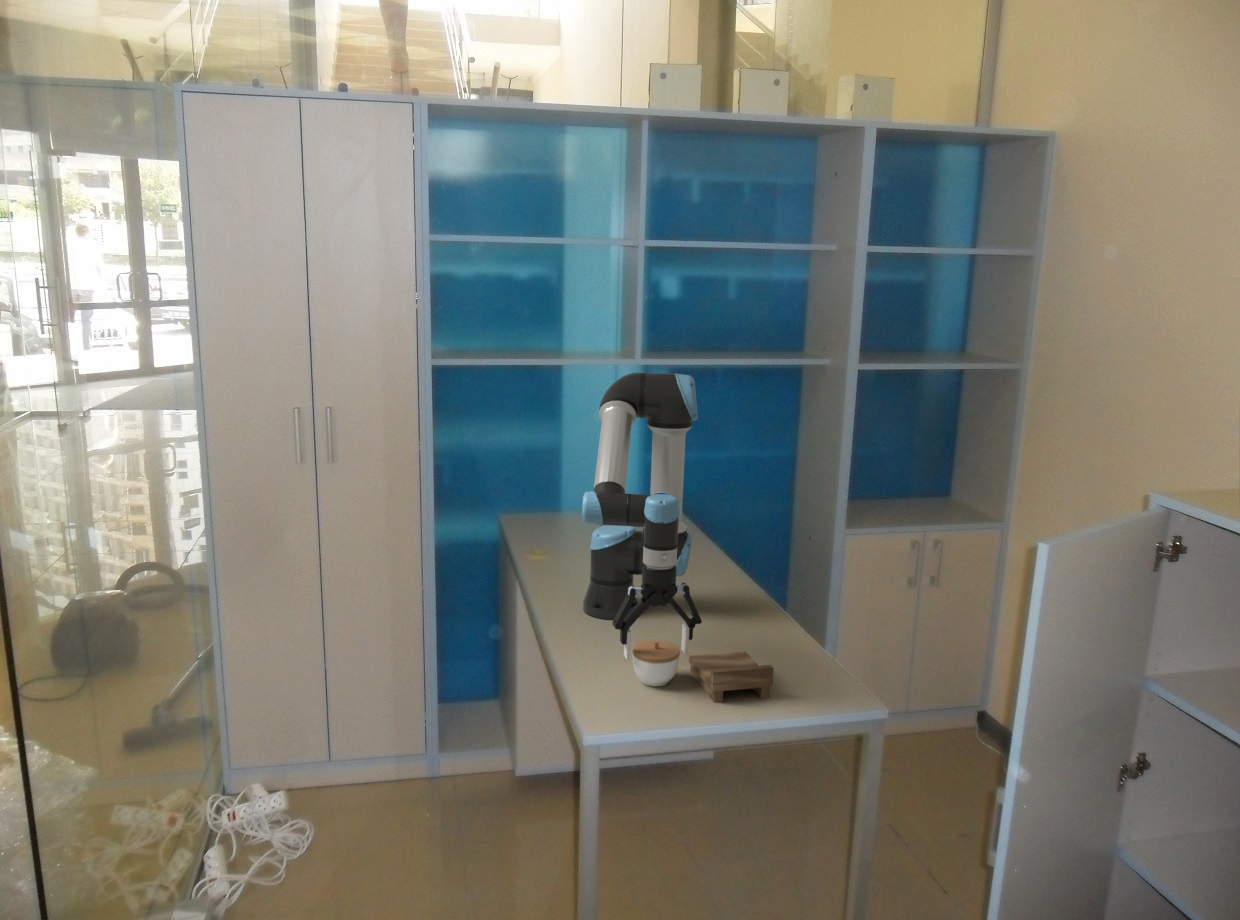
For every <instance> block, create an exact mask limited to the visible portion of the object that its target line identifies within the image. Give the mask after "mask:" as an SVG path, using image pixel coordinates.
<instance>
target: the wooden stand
mask: <svg viewBox="0 0 1240 920" xmlns="http://www.w3.org/2000/svg"><path fill="white" fill-rule="evenodd" d="M688 663H689V664H690V669H689V670H690V672H689V673H691V675H692V676H693V677H694V678H695V680H696V681H697V682H698V683H699V685H700V686H701V688H702V689H703V690H704V692H705V693H706V694H707V695H708V696H709V698H710V699H711V701H712V702H713V703H721V702H723V701H724V699H723V698H724V692H726V691H738V690H749V689H752V690H754V692H755V693H756V694H757V695H758V696H759V698H761V699H765V698H770V696H771V687H773V683H774V681H773V680H774V668H775V667H774V666H773V665H772V664H763V665H759V664H758V662H756V661H755V659H753V657H751V655H750V654H749V653H748V652H747V651H746V650H745V651H733V652H732V651H731V652H717V653H709V654H708V653H706V654H695V655H688Z"/></svg>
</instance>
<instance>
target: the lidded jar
mask: <svg viewBox="0 0 1240 920" xmlns="http://www.w3.org/2000/svg"><path fill="white" fill-rule="evenodd" d="M680 654H681V649H680V647H678V645H677V644H675V643H672V642H669V641H667V640H662V639H661V640H660V639H647V640H643V641H642V640H641V641H638V642H637V643H635V644H634V645H633V646H632V665H633V669H634V672H635V674H636V676H637V677H638V678H639V680H641V682H642V683H643V684H644V685H647V686H650V687H663V686H666V685H667V684H668V683H669V682H670V681H671V680H672V679H673V678H674V677H675V675H676V673H677V671H678V667H679V663H680Z"/></svg>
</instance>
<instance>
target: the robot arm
mask: <svg viewBox="0 0 1240 920" xmlns="http://www.w3.org/2000/svg"><path fill="white" fill-rule="evenodd" d="M697 405H698V404H697V393H696V382H695V379H694V377H693V376H691V375H690V374H682V373H668V372H667V373H665V372H664V373H663V372H662V373H660V372H654V373H653V372H639V371H638V372H631V373H627V374H625V375H623V376H621V377H620V378H618V379H617V380H615V381H614V382H613V383H612V384H611V385H610V386H609V387H608V388H607V389H606V391H605V392H604V394H603V396H602V398H601V400H600V403H599V409H598V418H599V420H600V422H601V424H600V434H599V441H598V451H597V458H596V468H595V473H594V474H595V475H594V484H593V490H592V491H585V492H584V494H583V496H582V506H581V507H582V509H581V511H582V512H581V515H582V517H581V518H582V521H583V522H584V523H585V524H589V525H595V526H596V525H597V526H599V527H597V528H596V529H594V531H592V534H591V542H590V543H591V544H590V546H589V547H590V568H589V569H590V573H589V574H590V575H589V576H590V577H589V579H590V580H589V583H588V587H587V589H586V592H585V595H584V598H583V601H582V602H583V603H582V611H583V612H584V613H585V612H586V613H585V614H587V615H588V614H589V616H590V615H591V616H590V617H593V618H597V619H601V620H602V619H604V620H612V622H611V623H612V626H613V628H614V629H615V630H620V631H619V632H620V633H619V635H620V636H619V642H620V643H621V645H623V656H624V657H625V660H627V661H628V660H631V648H632V644H631V643H632V641H631V640H632V639H631V638H632V631H631V629H630V628H631V627H633V625H634V624H635V622H636V621H637V620H638V619H639V617H641V615H642V614H643V612H645V611H646V610H647V609H648V608H649V607H650V606H651V607H656V608H657V607H659V606H660V607H666V606H667V605H668V604H670V605H671V608H673V609H674V610H675V612H677V614H678V615H679V616H680V617H681V618H682V620H683V621H684V622H685V623H682V624H681V625H682V629H681V645H680V648H681V649H680V652H681V653H682V654H683V655H684V656H689V643H690V641H691V640H693V638H694V629H695V628H696V625H701V624H702V621H703V620H702V618H701V616H700V613H699V611H698V610H697V608H696V605H695V603H694V601H693V598H692V597H691V592H690V586H689V585H688V584H687V583H686V582H681V584H678V585H677V584H676V583H677V577H682V576H684V575H685V574H686V573H687V569H688V565H689V560H690V554H691V547H692V543H693V542H692V541H693V535H692V534H691V533H689V532H688V526H687V525H686V524H685V523H684V522H683V520H682V519H683V498H684V478H685V475H684V473H685V460H686V459H685V458H686V457H685V456H686V435H687V432H689V431H690V429H691V428H692V427H693V422H695V421H697V420H698V419H699V416H698V406H697ZM637 418H639V419H646V421H647V422H646V426H647V427H648V428H649V429H650V430H651V432H652V436H651V438H652V439H651V440H652V443H651V466H650V494H645V493H644V494H643V493H642V494H641V493H628V492H626V489H627V480H628V479H627V478H628V468H629V458H630V457H629V456H630V446H631V436H632V426H633V425H634V423H636V420H637ZM637 527H638V528H643V529H642V531H637V529H636V528H637ZM635 575H636V576H641V577H642V578H641V585H640V587H635V585H634V576H635ZM678 592H679V594H680V595H682V597H683V599H684V602H685V604H686V606H687V608H688V610H689V612H690V615H691V616H692V617H691V618H690V616H688V614H686V612H685V611H684V609H682V608H681V606H680V605H679V604H678V603H677V602H676V600H675V599H674V597H675V596H676V594H677V593H678ZM639 594H641V595H642V596H641V597H640V599H639V598H638V595H639Z"/></svg>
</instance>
